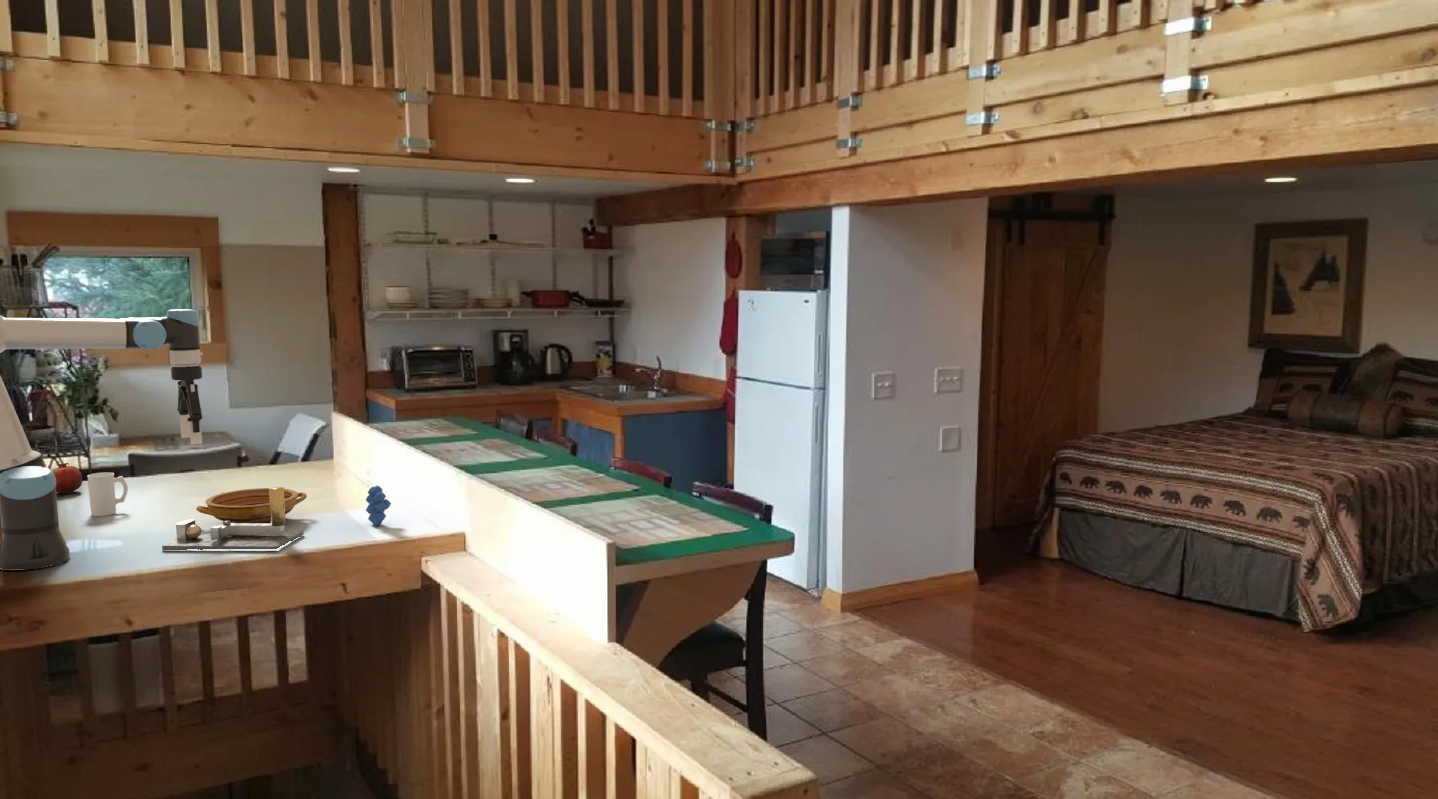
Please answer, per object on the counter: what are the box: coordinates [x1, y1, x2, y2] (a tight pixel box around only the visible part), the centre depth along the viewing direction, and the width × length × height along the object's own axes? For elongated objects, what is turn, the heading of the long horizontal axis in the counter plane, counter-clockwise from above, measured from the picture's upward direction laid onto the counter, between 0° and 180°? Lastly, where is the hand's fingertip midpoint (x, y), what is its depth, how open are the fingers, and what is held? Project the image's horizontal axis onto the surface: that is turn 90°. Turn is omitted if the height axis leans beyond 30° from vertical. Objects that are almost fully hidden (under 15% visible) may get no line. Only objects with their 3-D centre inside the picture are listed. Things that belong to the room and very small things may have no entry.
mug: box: [86, 472, 129, 517], centre depth 296 cm, size 10×7×12 cm, turn 129°
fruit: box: [51, 462, 83, 495], centre depth 323 cm, size 11×10×10 cm
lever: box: [209, 486, 287, 540], centre depth 263 cm, size 8×17×12 cm, turn 89°
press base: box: [161, 519, 305, 551], centre depth 264 cm, size 16×30×6 cm, turn 89°
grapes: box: [365, 485, 392, 526], centre depth 283 cm, size 12×7×12 cm, turn 38°
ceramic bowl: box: [195, 487, 308, 523], centre depth 285 cm, size 30×24×8 cm
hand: (191, 440), depth 277 cm, fingers open, 13 cm apart
